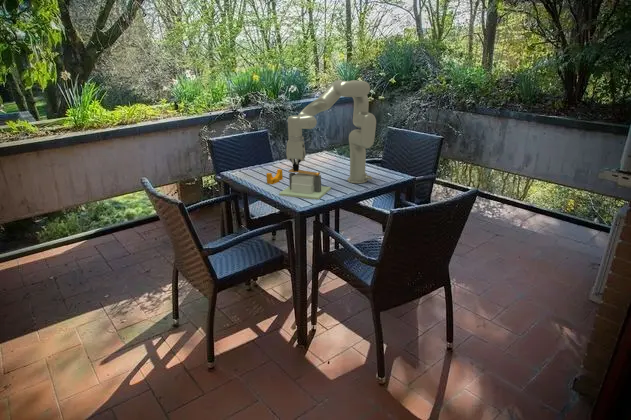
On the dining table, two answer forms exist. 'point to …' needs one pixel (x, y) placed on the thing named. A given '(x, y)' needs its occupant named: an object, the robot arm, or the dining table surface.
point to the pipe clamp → (274, 179)
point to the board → (309, 196)
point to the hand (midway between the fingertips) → (296, 170)
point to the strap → (305, 172)
